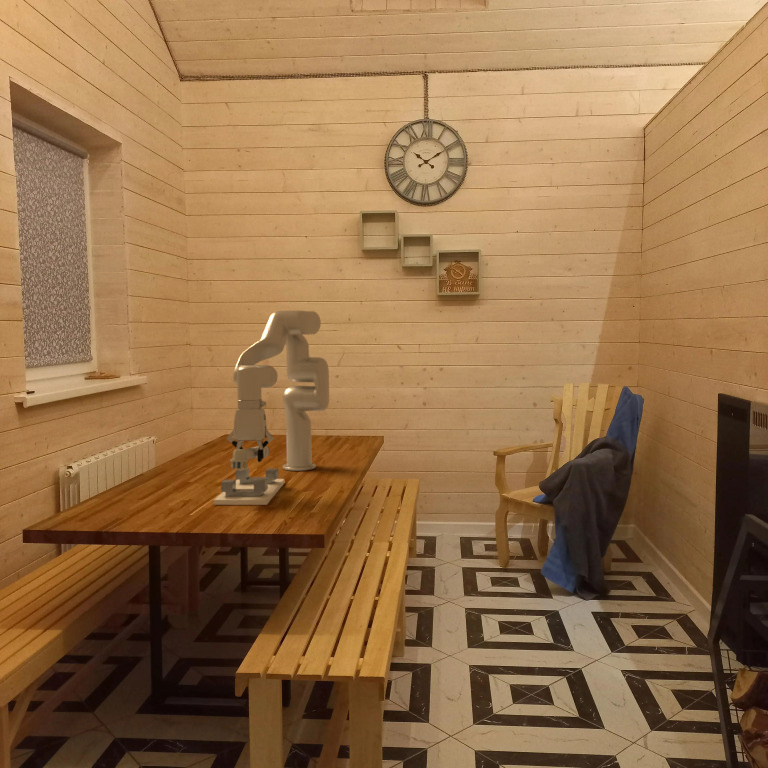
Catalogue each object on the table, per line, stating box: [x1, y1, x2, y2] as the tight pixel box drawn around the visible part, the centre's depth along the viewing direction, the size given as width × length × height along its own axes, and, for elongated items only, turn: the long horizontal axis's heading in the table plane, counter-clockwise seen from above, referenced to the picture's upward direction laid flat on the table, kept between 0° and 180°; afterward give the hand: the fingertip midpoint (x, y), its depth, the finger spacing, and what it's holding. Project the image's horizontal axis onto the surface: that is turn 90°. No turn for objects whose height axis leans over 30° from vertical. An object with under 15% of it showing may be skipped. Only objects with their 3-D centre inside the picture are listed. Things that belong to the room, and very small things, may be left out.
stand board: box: [213, 478, 285, 506], centre depth 220 cm, size 30×16×2 cm, turn 178°
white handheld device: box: [229, 445, 271, 470], centre depth 219 cm, size 5×7×25 cm
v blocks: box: [220, 467, 279, 497], centre depth 220 cm, size 22×14×4 cm, turn 178°
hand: (250, 460), depth 219 cm, fingers closed on white handheld device, 5 cm apart
